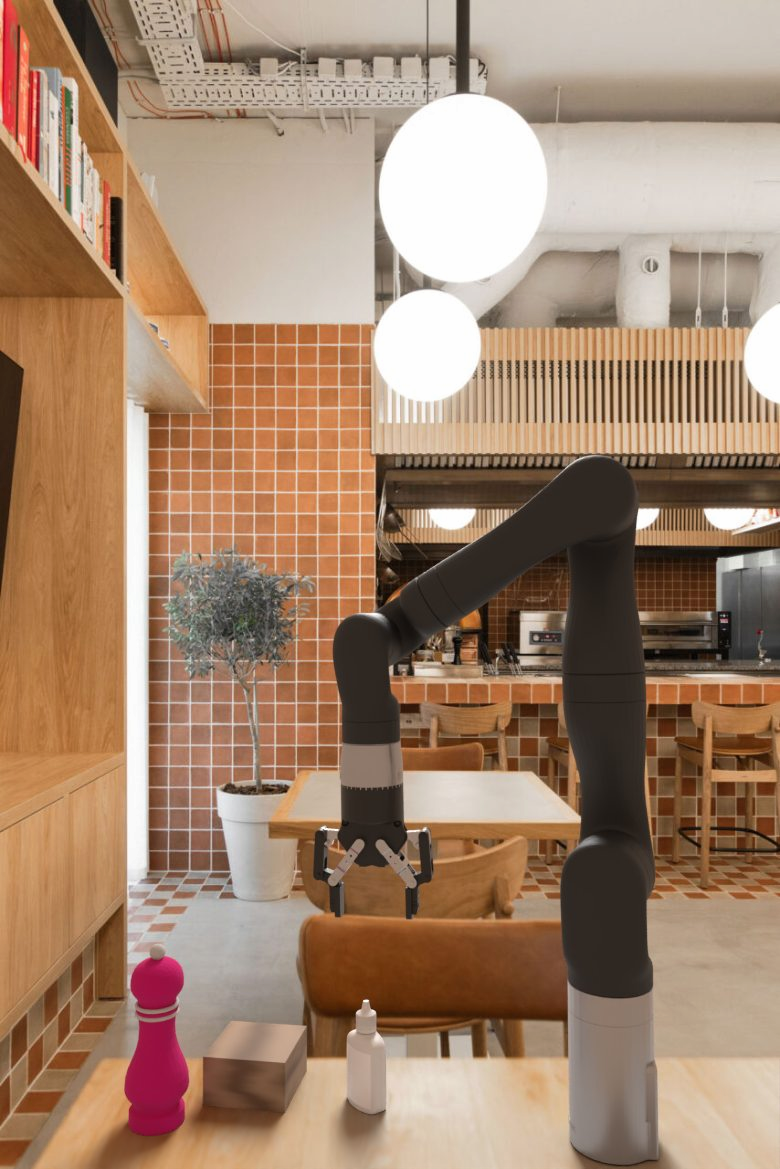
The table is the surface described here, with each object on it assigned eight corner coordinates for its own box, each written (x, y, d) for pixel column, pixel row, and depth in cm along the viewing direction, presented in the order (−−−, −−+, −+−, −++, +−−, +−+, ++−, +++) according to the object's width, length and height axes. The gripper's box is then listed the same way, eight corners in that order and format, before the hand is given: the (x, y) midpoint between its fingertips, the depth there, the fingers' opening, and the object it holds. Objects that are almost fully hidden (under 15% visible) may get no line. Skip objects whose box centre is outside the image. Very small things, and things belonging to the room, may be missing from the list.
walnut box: (306, 1074, 118) (306, 1025, 118) (285, 1115, 108) (285, 1062, 108) (231, 1068, 120) (231, 1020, 120) (202, 1108, 110) (203, 1056, 110)
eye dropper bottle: (349, 1118, 107) (349, 1011, 108) (346, 1093, 113) (345, 992, 113) (387, 1115, 108) (387, 1009, 108) (381, 1090, 113) (381, 990, 114)
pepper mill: (172, 1142, 102) (173, 957, 103) (112, 1135, 104) (113, 953, 104) (199, 1108, 109) (199, 935, 110) (142, 1102, 111) (142, 931, 112)
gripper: (434, 774, 114) (437, 909, 114) (321, 774, 117) (323, 905, 116) (427, 785, 107) (430, 929, 106) (306, 784, 109) (308, 925, 108)
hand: (374, 916), depth 111 cm, fingers open, 8 cm apart
